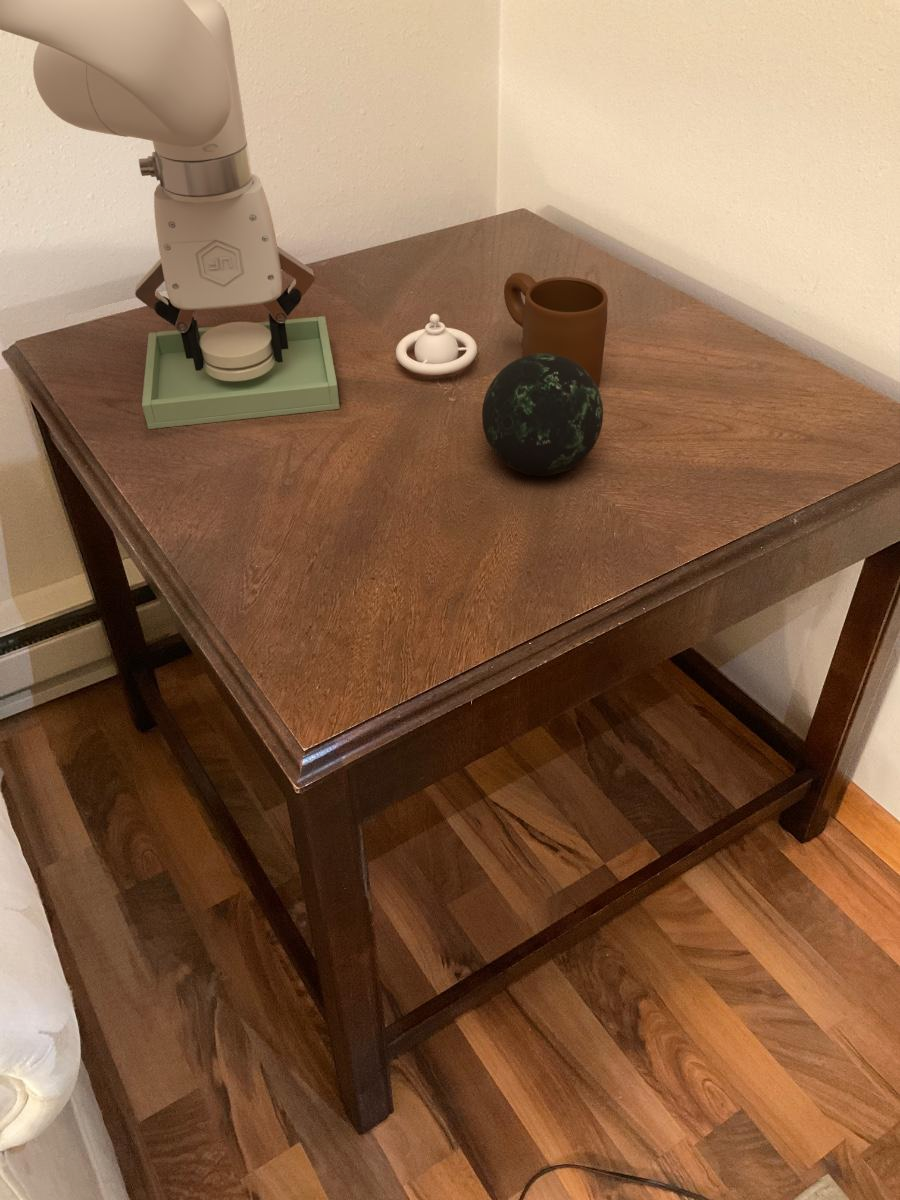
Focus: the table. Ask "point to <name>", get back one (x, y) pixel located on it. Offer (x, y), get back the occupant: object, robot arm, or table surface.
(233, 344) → the beige round container
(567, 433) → the decorative stone
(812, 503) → the table surface
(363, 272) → the table surface
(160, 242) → the robot arm
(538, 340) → the mug
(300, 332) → the tray
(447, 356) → the ring around a ball
